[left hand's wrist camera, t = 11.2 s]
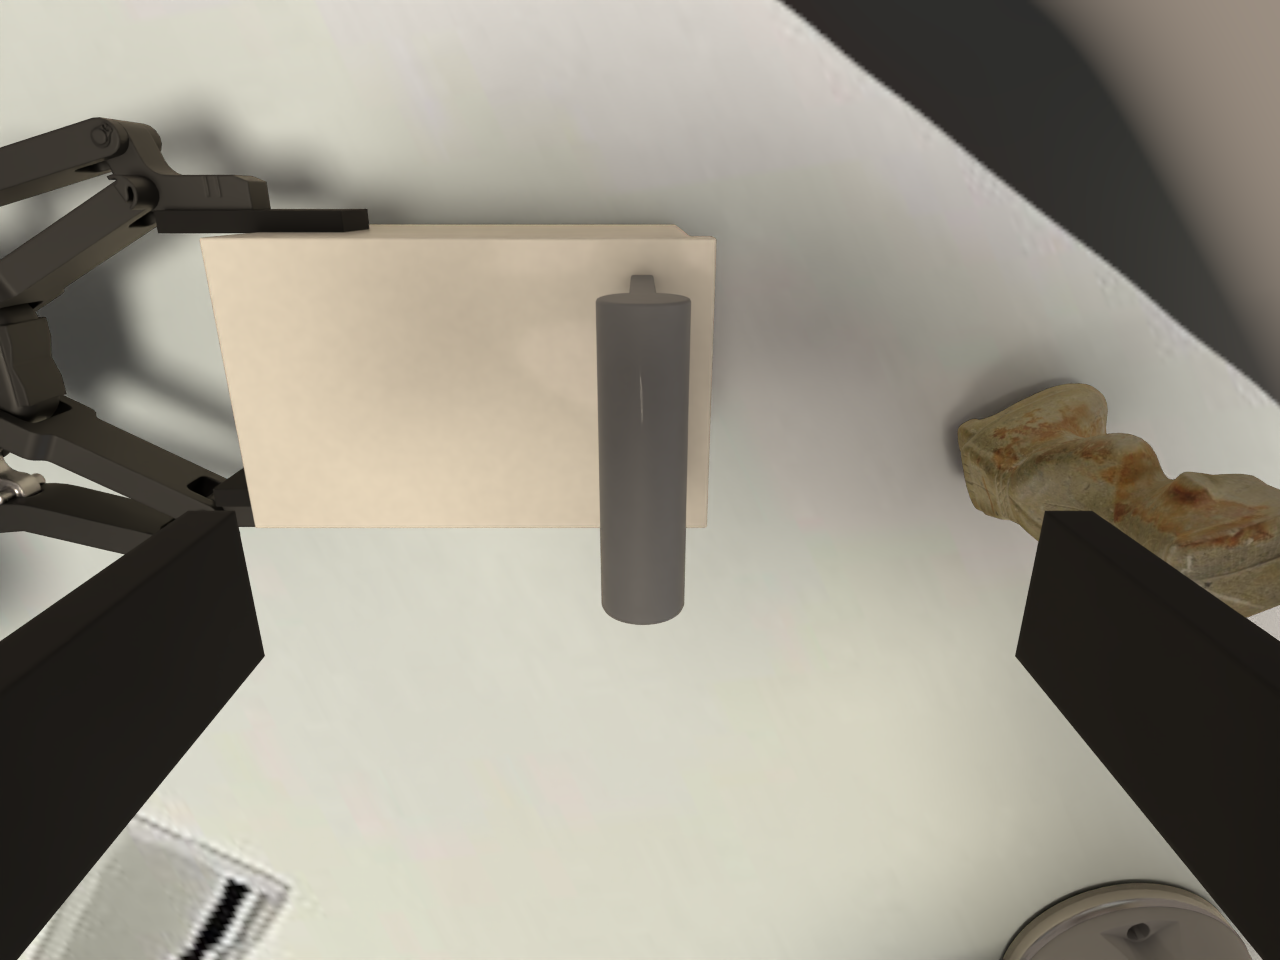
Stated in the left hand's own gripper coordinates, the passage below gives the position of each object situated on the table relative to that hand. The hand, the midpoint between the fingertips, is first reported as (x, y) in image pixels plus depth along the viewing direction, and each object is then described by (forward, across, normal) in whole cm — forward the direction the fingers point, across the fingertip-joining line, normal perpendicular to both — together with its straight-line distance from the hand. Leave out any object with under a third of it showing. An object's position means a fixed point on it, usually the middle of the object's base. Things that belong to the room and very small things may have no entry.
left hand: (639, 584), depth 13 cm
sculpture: (+25, -18, +5) cm, 31 cm away
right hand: (+18, +10, 0) cm, 21 cm away
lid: (+14, +6, 0) cm, 15 cm away
